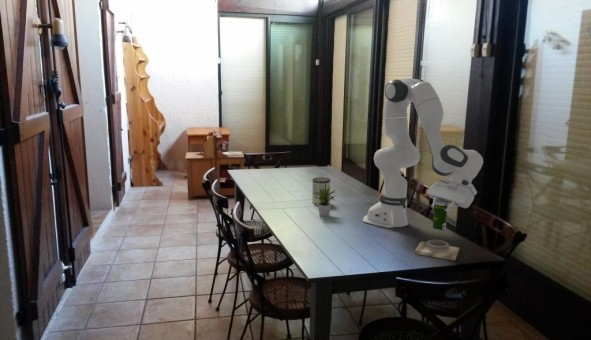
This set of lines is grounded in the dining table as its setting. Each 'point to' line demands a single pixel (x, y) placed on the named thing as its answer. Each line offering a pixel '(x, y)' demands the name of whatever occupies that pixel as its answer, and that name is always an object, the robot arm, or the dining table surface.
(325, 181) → the glass jar with lid
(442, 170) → the robot arm
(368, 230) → the dining table surface
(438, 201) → the beer can
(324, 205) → the house plant
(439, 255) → the board
